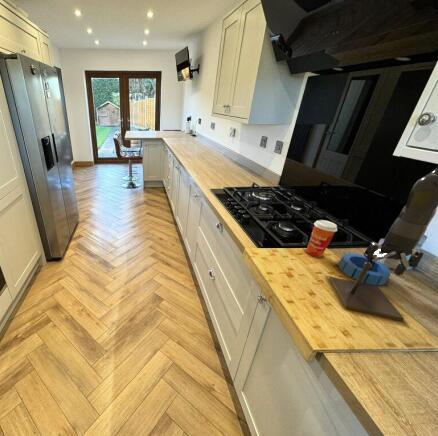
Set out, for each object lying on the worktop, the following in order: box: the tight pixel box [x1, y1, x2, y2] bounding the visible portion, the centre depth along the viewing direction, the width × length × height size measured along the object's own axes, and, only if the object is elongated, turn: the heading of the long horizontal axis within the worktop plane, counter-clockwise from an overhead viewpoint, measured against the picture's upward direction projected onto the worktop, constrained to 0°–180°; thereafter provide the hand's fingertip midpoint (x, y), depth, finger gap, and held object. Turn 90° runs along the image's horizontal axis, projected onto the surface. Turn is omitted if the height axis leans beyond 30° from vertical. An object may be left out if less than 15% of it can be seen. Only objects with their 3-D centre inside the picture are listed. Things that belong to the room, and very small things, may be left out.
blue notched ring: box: [337, 252, 392, 286], centre depth 87 cm, size 14×14×4 cm
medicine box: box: [375, 238, 400, 270], centre depth 92 cm, size 8×4×9 cm, turn 161°
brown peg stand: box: [328, 262, 405, 322], centre depth 72 cm, size 14×14×13 cm
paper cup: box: [306, 219, 338, 258], centre depth 95 cm, size 8×8×14 cm
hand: (382, 271), depth 85 cm, fingers open, 8 cm apart
